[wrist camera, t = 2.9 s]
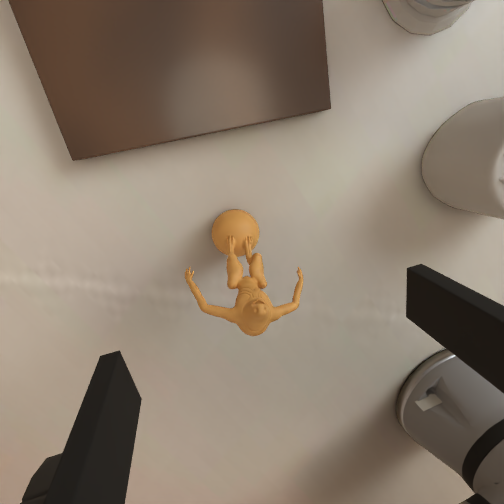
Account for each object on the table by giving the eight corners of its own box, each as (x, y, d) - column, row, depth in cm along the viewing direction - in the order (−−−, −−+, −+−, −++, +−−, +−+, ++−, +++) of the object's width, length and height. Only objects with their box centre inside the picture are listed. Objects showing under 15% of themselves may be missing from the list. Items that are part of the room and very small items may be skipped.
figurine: (278, 207, 27) (342, 250, 16) (271, 268, 29) (324, 344, 18) (185, 203, 25) (185, 248, 14) (184, 268, 27) (183, 352, 16)
